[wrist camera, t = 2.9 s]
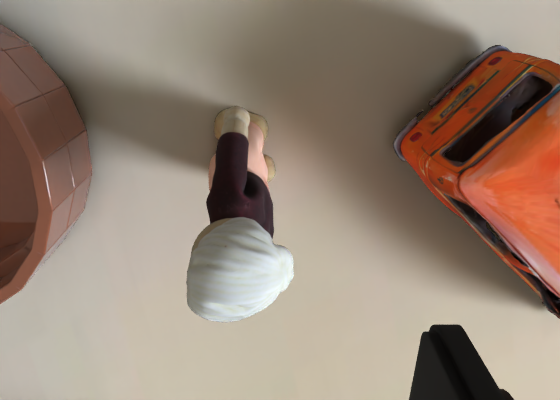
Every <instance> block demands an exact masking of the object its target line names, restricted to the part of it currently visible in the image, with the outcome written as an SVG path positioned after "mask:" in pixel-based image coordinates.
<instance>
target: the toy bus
mask: <svg viewBox="0 0 560 400" xmlns="http://www.w3.org/2000/svg"><path fill="white" fill-rule="evenodd" d="M468 72H469V74H468V75H467V76H466V77H465V78H464V79H463V80H462V81H461V82H460V83H459V84H457V83H458V82H459V81H460V80H461V79H462V78H463V77H464V76H465V75H466V74H467V73H468ZM455 84H457V85H456V86H455V87H454V85H455ZM453 87H454V88H453ZM452 88H453V89H452ZM449 90H451V91H450V92H449V94H447V96H446V97H444V98H443V99H442V100H440V99H441V98H442V97H443V96H444V95H445V94H446V93H447V92H448V91H449ZM509 94H510V96H509ZM505 98H506V99H505ZM439 100H440V101H439ZM502 100H503V101H502ZM438 101H439V103H438V104H437V105H436V106H435V107H434V108H431V110H430V111H429V112H428V113H427V114H426V116H425V117H424V118H423V119H421V120H420V121H419V122H417V119H416V117H418V116H419V115H420V114H421V113H422V112H423V110H421V111H420V112H419V113H418V114H417V115H416V117H415V118H414V119H412V120H411V121H410V122H409V123H408V124H407V125H405V126H404V127H403V128H402V130H401V131H400V132H399V133H398V135H397V136H396V138H395V140H394V142H393V148H394V150H395V153H396V154H397V156H398V157H399V158H400V159H401V160H402V161H406V160H407V162H408V163H409V164H410V165H411V167H412V168H413V169H414V170H415V171H416V173H417V174H418V176H419V177H420V178H421V179H422V181H423V182H424V183H425V185H426V186H427V187H428V188H429V189H430V191H431V192H432V193H433V194H434V195H435V196H436V197H437V198H438V199H439V200H440V201H441V202H442V203H443V204H444V205H445V206H447V207H448V208H449V209H450V210H451V211H453V212H454V213H456V214H457V215H458V216H460V217H461V218H462V219H463V220H464V221H465V222H466V223H467V224H468V225H469V226H470V227H471V228H472V229H473V230H474V231H475V232H476V233H477V234H478V235H479V236H480V238H481V239H482V240H483V241H484V242H485V243H486V244H487V245H488V246H489V247H490V248H491V249H492V250H493V251H494V252H495V253H496V254H497V255H498V256H499V257H500V258H501V259H502V260H503V261H504V262H505V263H506V264H507V265H508V266H509V267H510V268H511V269H512V270H513V271H514V272H515V273H516V274H517V275H518V276H520V277H521V278H522V279H523V280H524V281H525V282H526V283H527V284H528V285H529V286H530V287H531V288H532V289H533V291H534V292H536V293H537V294H538V295H539V297H540V298H541V300H542V304H544V305H545V306H546V308H547V309H548V310H549V311H550V312H551V313H554V314H555V315H556V316H557V317H558V318H559V319H560V65H559V64H556V63H554V62H552V61H550V60H547V59H541V58H537V57H534V56H531V55H526V54H521V53H513V52H511V51H510V50H509V49H508V48H506V47H504V46H501V45H495V46H492V47H490V48H488V49H487V50H486V51H485V52H483V53H482V54H481V55H479V56H478V57H476V58H475V59H473V60H471V61H470V62H469V63H467V64H466V66H465V67H464V68H463V69H461V70H460V71H459V72H458V73H457V74H456V75H455V76H454V77H453V78H452V79H451V80H450V81H449V82H448V83H447V84H446V85H445V86H444V87H443V88H442V89H440V91H439V92H438V94H437V95H436V96H435V97H434V99H433V100H431V101H430V102H429V105H430V106H431V107H432V106H433V105H434V104H436V103H437V102H438ZM501 101H502V102H501ZM449 149H450V150H449ZM448 150H449V152H448V153H447V154H446V155H445V156H443V155H444V154H445V153H446V152H447V151H448ZM486 221H487V222H488V223H489V225H490V227H491V228H492V229H493V230H494V231H495V232H496V233H497V235H498V236H499V237H500V240H501V242H500V241H499V240H498V239H497V238H496V237H495V235H494V234H493V233H492V232H491V231H490V230H489V229H488V228H486Z"/></svg>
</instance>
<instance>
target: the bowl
mask: <svg viewBox="0 0 560 400" xmlns="http://www.w3.org/2000/svg"><path fill="white" fill-rule="evenodd" d="M91 176H92V166H91V159H90V152H89V144H88V137H87V130H86V128H85V125H84V123H83V121H82V119H81V117H80V115H79V113H78V111H77V108H76V106H75V104H74V102H73V100H72V98H71V96H70V94H69V91H68V89H67V87H66V86H65V84H64V83H63V82H62V81H61V79H60V78H59V77H58V76H57V75H56V74H55V72H54V71H53V70H52V69H51V68H50V67H49V66H48V64H47V63H46V62H45V61H44V60H43V59H42V57H41V56H40V55H39V54H38V53H37V52H36V50H35V49H34V48H33V47H32V46H31V45H30V44H29V43H28V42H26V41H25V40H23V39H22V38H21V37H19V36H18V35H16V34H15V33H13V32H12V31H10V30H9V29H7V28H6V27H5V26H3V25H2V24H0V304H1V303H3V302H4V301H6V300H7V299H9V298H10V297H12V296H13V295H15V294H16V293H17V292H19V291H20V290H22V289H23V288H24V286H25V285H26V284H27V283H28V282H29V280H30V279H31V278H32V277H33V276H34V275H35V273H36V272H37V271H38V270H39V269H40V267H41V266H42V265H43V264H44V263H45V261H46V260H47V259H48V258H49V257H50V256H51V254H52V253H53V252H54V251H55V250H56V249H57V247H58V246H59V245H60V244H61V243H62V241H63V240H64V239H65V238H66V236H67V235H68V233H69V232H70V230H71V229H72V227H73V226H74V224H75V223H76V221H77V220H78V218H79V217H80V215H81V214H82V212H83V211H84V208H85V204H86V199H87V194H88V190H89V185H90V180H91Z"/></svg>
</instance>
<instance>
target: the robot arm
mask: <svg viewBox="0 0 560 400" xmlns="http://www.w3.org/2000/svg"><path fill="white" fill-rule="evenodd" d="M409 400H514V399H513V398H512V396H511V395H510V394H509V393H508V392H507V391H505V390H504V389H499V388H498V386H497V384H496V383H495V381H494V379H493V378H492V376H491V374H490V373H489V371H488V369H487V367H486V366H485V364H484V362H483V361H482V359H481V357H480V356H479V354H478V352H477V351H476V349H475V347H474V346H473V344H472V342H471V341H470V339H469V337H468V336H467V334H466V332H465V331H464V329H463V328H462V326H460V325H432V326H431V327H430V330H429V332H423V333H422V336H421V341H420V346H419V351H418V356H417V361H416V366H415V372H414V377H413V382H412V387H411V392H410V397H409Z"/></svg>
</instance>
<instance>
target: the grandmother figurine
mask: <svg viewBox="0 0 560 400" xmlns="http://www.w3.org/2000/svg"><path fill="white" fill-rule="evenodd" d="M214 132H215V136H216V138H217V139H218V140H219V141H218V144H217V149H216V154H215V155H214V156H213V157H212V159H211V161H210V165H209V190H210V193H209V195H208V198H207V202H206V204H207V209H208V213H209V217H210V225H208V226H207V227H206V228H205V229H204V230H203V231H202V232H201V233H200V234H199V235H198V237H197V239H196V240H195V242H194V245H193V247H192V252H191V258H190V263H189V267H188V271H187V282H186V283H187V303H188V306H189V307H190V309H191V310H192V311H193V312H194V313H196V314H197V315H199V316H201V317H203V318H205V319H207V320H212V321H216V322H232V321H238V320H242V319H244V318H246V317H249V316H252V315H254V314H256V313H257V312H259V311H261V310H263V309H265V308H266V307H267V306H269V305H270V304H271V303H273V302H274V300H275V299H276V298H277V296H278V294H279V293H281V292H282V291H284V290H285V289H286V288H287V287H288V285H289V283H290V282H291V281H292V278H293V275H294V271H293V257H292V254H291V253H290V251H289V250H288V249H287V248H286V247H284V246H281V245H275V244H274V243H273V241H272V238H273V233H274V227H273V203H272V200H271V197H270V192H269V187H268V183H267V182H269V181H271V180H272V179H273V178H274V176H275V166H274V162H273V160H272V159H271V158H270V157H269V156H267V155H263V153H262V148H263V142H264V141H265V139H266V137H267V132H268V125H267V122H266V120H265V119H264V118H263V117H261V116H259V115H256V114H252V113H249V112H247V111H246V110H245V109H244V108H242V107H239V106H233V107H231V108H229V109H225V110H223V111H221V112H220V113H219V114H218V115H217V117H216V119H215V123H214Z"/></svg>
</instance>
